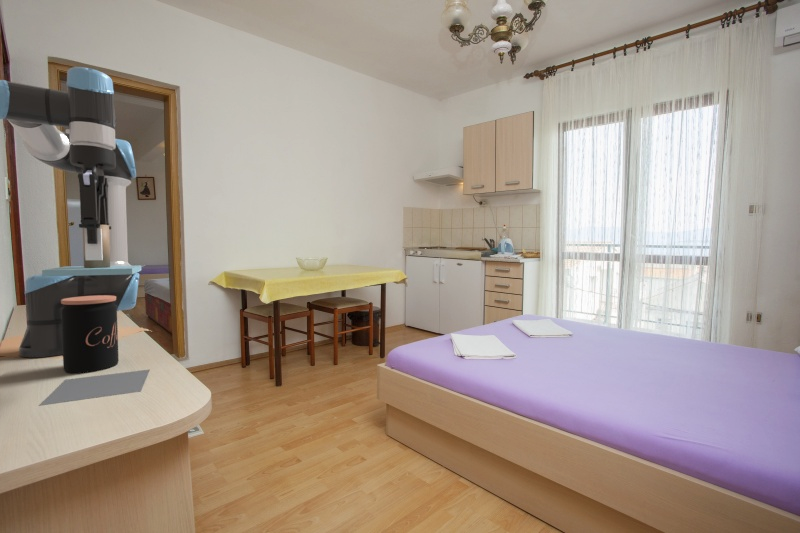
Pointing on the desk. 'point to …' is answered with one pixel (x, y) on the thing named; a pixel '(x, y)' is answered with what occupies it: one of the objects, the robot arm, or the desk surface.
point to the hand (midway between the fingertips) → (97, 259)
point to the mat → (97, 387)
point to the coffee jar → (89, 333)
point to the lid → (94, 263)
